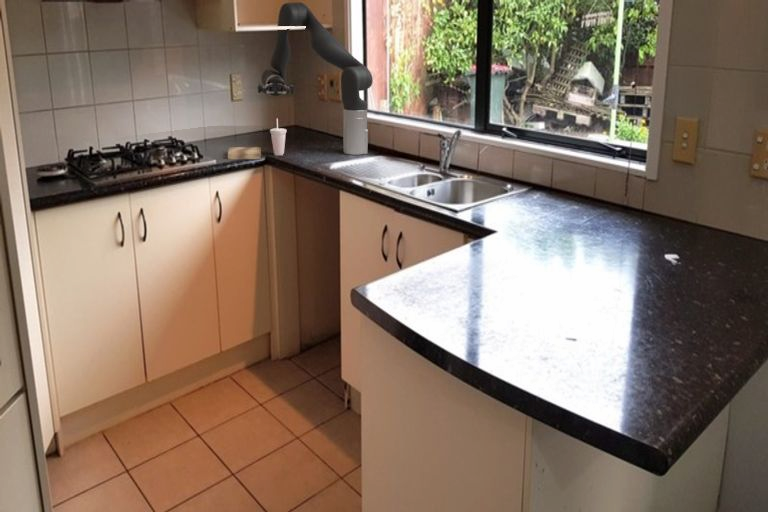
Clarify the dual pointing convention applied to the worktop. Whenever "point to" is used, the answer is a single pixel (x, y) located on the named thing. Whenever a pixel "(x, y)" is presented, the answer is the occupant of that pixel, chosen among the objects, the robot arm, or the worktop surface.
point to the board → (244, 153)
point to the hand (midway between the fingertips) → (276, 91)
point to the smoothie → (278, 139)
